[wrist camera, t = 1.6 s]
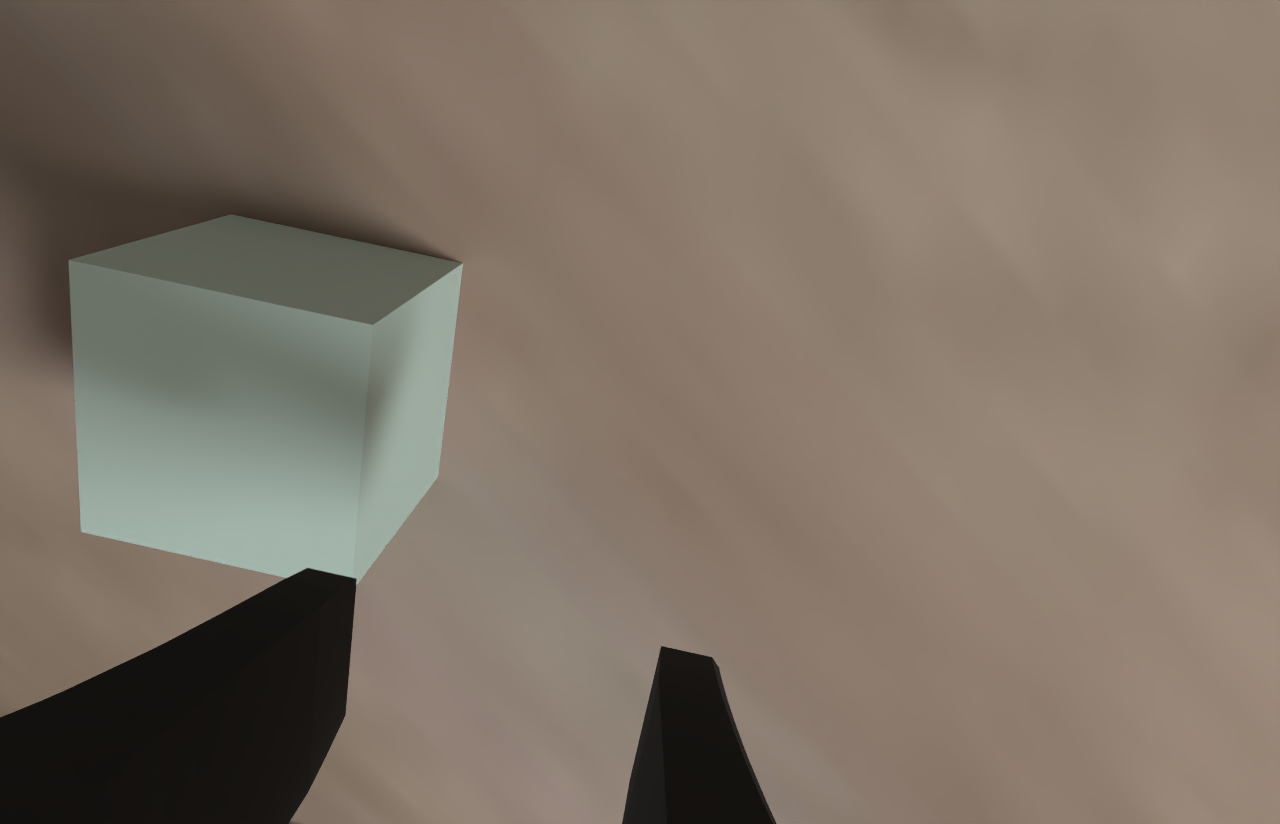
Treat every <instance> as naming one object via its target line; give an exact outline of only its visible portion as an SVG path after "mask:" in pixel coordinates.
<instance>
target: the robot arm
mask: <svg viewBox="0 0 1280 824" xmlns="http://www.w3.org/2000/svg"><path fill="white" fill-rule="evenodd" d="M356 581H357V579H356V578H352V577H347V576H342V575H338V574H333V573H329V572H324V571H320V570H315V569H311V568H306V569H304V570H302V571H300V572H298V573H296V574H294V575H292V576H290V577H288V578H286V579H284V580H282V581H280V582H279V583H277V584H275V585H273V586H271V587H269V588H267V589H266V590H264V591H262V592H260V593H258V594H256V595H255V596H253V597H251V598H249V599H247V600H245V601H243V602H242V603H240V604H238V605H236V606H234V607H232V608H231V609H229V610H227V611H225V612H223V613H221V614H219V615H217V616H216V617H214V618H212V619H210V620H208V621H206V622H204V623H202V624H200V625H198V626H197V627H195V628H193V629H191V630H189V631H187V632H185V633H183V634H181V635H179V636H177V637H176V638H174V639H172V640H170V641H168V642H166V643H164V644H162V645H160V646H158V647H156V648H154V649H152V650H150V651H148V652H146V653H144V654H141V655H139V656H137V657H135V658H133V659H131V660H129V661H127V662H125V663H122V664H120V665H118V666H116V667H114V668H112V669H110V670H108V671H105V672H103V673H101V674H99V675H97V676H95V677H93V678H91V679H89V680H86V681H84V682H82V683H80V684H78V685H76V686H74V687H72V688H69V689H67V690H65V691H63V692H61V693H58V694H56V695H54V696H51V697H49V698H47V699H44V700H42V701H40V702H37V703H35V704H32V705H30V706H28V707H25V708H23V709H20V710H18V711H15V712H13V713H11V714H8V715H5V716H3V717H0V824H288V823H289V822H290V820H291V818H292V817H293V815H294V814H295V812H296V811H297V809H298V807H299V806H300V804H301V803H302V801H303V799H304V798H305V796H306V795H307V793H308V791H309V789H310V787H311V785H312V783H313V781H314V779H315V777H316V775H317V773H318V771H319V769H320V767H321V765H322V763H323V761H324V759H325V757H326V755H327V753H328V751H329V749H330V747H331V745H332V742H333V740H334V738H335V736H336V734H337V732H338V730H339V728H340V726H341V723H342V721H343V719H344V717H345V713H346V701H347V689H348V677H349V665H350V653H351V641H352V629H353V617H354V605H355V593H356ZM622 824H776V822H775V819H774V817H773V815H772V813H771V811H770V809H769V806H768V804H767V802H766V799H765V797H764V795H763V792H762V790H761V788H760V785H759V783H758V781H757V778H756V776H755V773H754V771H753V769H752V766H751V764H750V762H749V759H748V757H747V754H746V751H745V749H744V746H743V744H742V741H741V738H740V735H739V732H738V730H737V727H736V724H735V721H734V718H733V715H732V712H731V709H730V706H729V703H728V700H727V697H726V693H725V690H724V686H723V683H722V679H721V675H720V670H719V667H718V666H717V664H716V662H715V661H714V659H713V658H712V657H708V656H704V655H699V654H695V653H690V652H686V651H681V650H677V649H672V648H668V647H663V646H661V650H660V654H659V658H658V663H657V667H656V671H655V675H654V680H653V684H652V688H651V692H650V697H649V701H648V705H647V709H646V714H645V718H644V722H643V727H642V731H641V735H640V739H639V744H638V748H637V752H636V756H635V761H634V765H633V769H632V773H631V778H630V783H629V788H628V794H627V800H626V805H625V811H624V817H623V822H622Z"/></svg>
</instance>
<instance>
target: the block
mask: <svg viewBox="0 0 1280 824" xmlns="http://www.w3.org/2000/svg"><path fill="white" fill-rule="evenodd" d="M68 261H69V283H70V304H71V326H72V347H73V368H74V390H75V411H76V433H77V454H78V476H79V497H80V518H81V532H84V533H88V534H93V535H97V536H102V537H106V538H111V539H115V540H120V541H124V542H129V543H133V544H138V545H142V546H147V547H151V548H156V549H160V550H165V551H169V552H173V553H178V554H182V555H187V556H191V557H196V558H200V559H205V560H209V561H214V562H218V563H223V564H227V565H232V566H236V567H241V568H245V569H249V570H254V571H258V572H263V573H267V574H272V575H276V576H281V577H285V578H288V577H290V576H292V575H294V574H296V573H298V572H300V571H302V570H304V569H306V568H311V569H315V570H320V571H324V572H329V573H333V574H338V575H342V576H347V577H352V578H356V579H357V581H356V585H357V584H358V583H359V581H360V580H361V579H362V577H363V576H364V575H365V573H366V572H367V571H368V569H369V568H370V567H371V565H372V564H373V563H374V561H375V560H376V559H377V557H378V556H379V555H380V553H381V552H382V551H383V549H384V548H385V547H386V545H387V544H388V543H389V541H390V540H391V539H392V537H393V536H394V535H395V533H396V532H397V531H398V529H399V528H400V527H401V525H402V524H403V523H404V521H405V520H406V519H407V517H408V516H409V515H410V513H411V512H412V511H413V509H414V508H415V507H416V505H417V504H418V503H419V501H420V500H421V499H422V497H423V496H424V495H425V493H426V492H427V491H428V489H429V488H430V487H431V485H432V484H433V483H434V481H435V480H436V479H437V477H438V472H439V463H440V455H441V446H442V438H443V429H444V421H445V412H446V404H447V395H448V386H449V378H450V369H451V361H452V352H453V344H454V335H455V327H456V318H457V310H458V301H459V293H460V284H461V276H462V267H463V263H460V262H455V261H450V260H446V259H441V258H436V257H431V256H427V255H422V254H417V253H412V252H408V251H403V250H398V249H393V248H389V247H384V246H379V245H374V244H370V243H365V242H360V241H355V240H351V239H346V238H341V237H337V236H332V235H327V234H322V233H318V232H313V231H308V230H303V229H299V228H294V227H289V226H284V225H280V224H275V223H270V222H265V221H261V220H256V219H251V218H246V217H242V216H237V215H232V214H230V215H227V216H223V217H220V218H216V219H213V220H209V221H205V222H202V223H198V224H195V225H191V226H188V227H184V228H180V229H177V230H173V231H170V232H166V233H163V234H159V235H155V236H152V237H148V238H145V239H141V240H138V241H134V242H131V243H127V244H123V245H120V246H116V247H113V248H109V249H106V250H102V251H98V252H95V253H91V254H88V255H84V256H81V257H77V258H73V259H70V260H68Z"/></svg>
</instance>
